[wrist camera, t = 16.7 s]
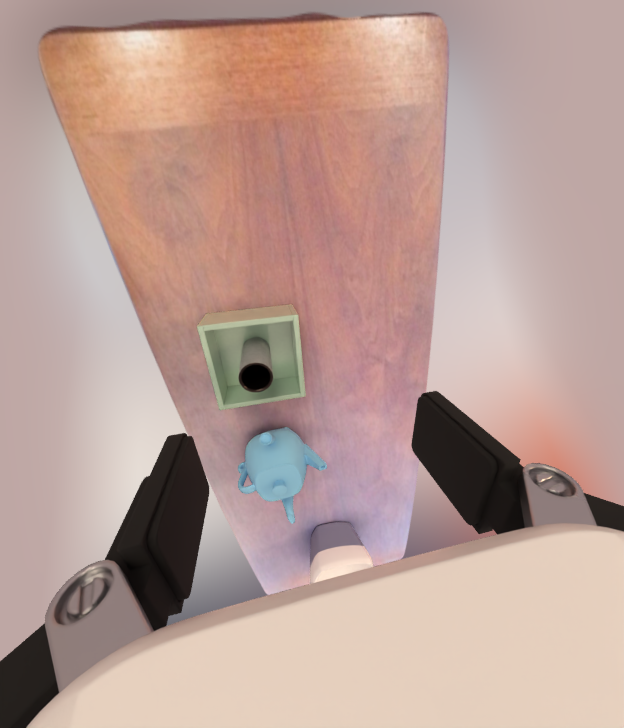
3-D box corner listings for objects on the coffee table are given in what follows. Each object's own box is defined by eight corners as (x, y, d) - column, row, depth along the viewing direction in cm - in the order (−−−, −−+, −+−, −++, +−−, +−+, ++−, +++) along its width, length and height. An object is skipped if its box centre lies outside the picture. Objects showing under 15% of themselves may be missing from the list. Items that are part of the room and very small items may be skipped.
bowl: (362, 513, 69) (380, 558, 59) (352, 548, 75) (366, 595, 66) (306, 519, 66) (315, 568, 56) (300, 555, 72) (307, 605, 62)
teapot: (324, 435, 55) (339, 478, 45) (287, 477, 59) (293, 526, 48) (263, 404, 49) (265, 446, 39) (226, 454, 53) (218, 504, 42)
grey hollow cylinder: (245, 363, 44) (241, 395, 35) (239, 338, 42) (235, 365, 33) (271, 359, 45) (275, 390, 35) (267, 335, 43) (270, 360, 33)
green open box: (224, 387, 46) (219, 410, 40) (205, 313, 40) (196, 326, 34) (299, 376, 48) (305, 396, 42) (292, 303, 42) (298, 314, 36)
